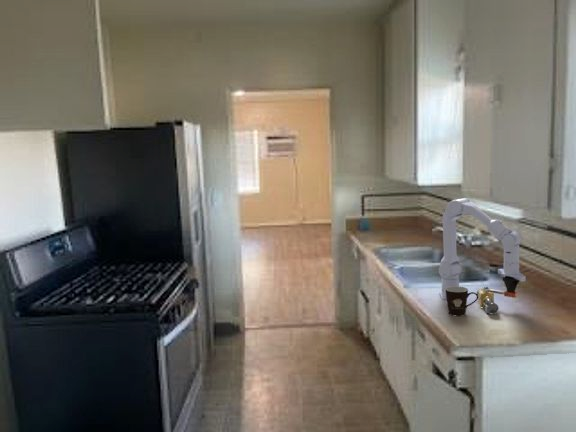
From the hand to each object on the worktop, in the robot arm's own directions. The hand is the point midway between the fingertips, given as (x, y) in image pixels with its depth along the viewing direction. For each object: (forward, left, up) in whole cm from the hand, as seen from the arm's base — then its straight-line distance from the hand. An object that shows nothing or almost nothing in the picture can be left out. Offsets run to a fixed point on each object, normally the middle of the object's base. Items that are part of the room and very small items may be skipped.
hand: (511, 294), depth 207 cm
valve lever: (0, -5, 0) cm, 5 cm away
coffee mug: (+7, -21, -6) cm, 23 cm away
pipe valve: (-2, -9, -6) cm, 11 cm away
